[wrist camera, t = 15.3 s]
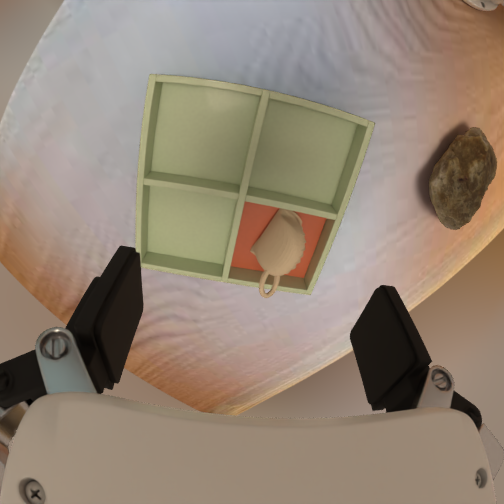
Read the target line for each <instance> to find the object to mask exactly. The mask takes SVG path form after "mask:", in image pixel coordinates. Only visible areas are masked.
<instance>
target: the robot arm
mask: <svg viewBox="0 0 504 504" xmlns="http://www.w3.org/2000/svg"><path fill="white" fill-rule="evenodd" d="M463 1H464V2H466V3H467V4H469V5H470V6H472V7H474V8H476V9H478V10H481V11H490V10H494V9H496V8H497V6H498V5H499V4H502V5H503V6H504V0H463ZM142 312H143V294H142V279H141V261H140V253H138V252H136V249H135V248H133V247H127V246H120V247H119V248H118V250H117V251H116V253H115V254H114V256H113V257H112V259H111V261H110V262H109V264H108V265H107V267H106V269H105V270H104V272H103V274H102V275H101V277H95V278H94V279H93V281H92V282H91V284H90V286H89V287H88V289H87V291H86V292H85V294H84V296H83V297H82V299H81V301H80V303H79V304H78V306H77V308H76V310H75V311H74V313H73V315H72V317H71V319H70V321H69V322H68V324H67V326H66V328H65V329H64V328H61V327H54V328H50V329H47V330H46V331H44V332H43V333H42V334H40V336H39V337H38V339H37V341H36V345H35V350H33V351H30V352H28V353H26V354H23V355H21V356H18V357H16V358H14V359H11V360H8V361H6V362H4V363H1V364H0V504H497V502H496V495H495V490H494V485H493V480H494V478H495V477H496V475H497V473H498V471H499V468H500V467H501V464H502V463H503V460H504V449H503V447H502V446H501V444H500V443H499V442H498V441H497V439H496V438H495V437H494V436H493V434H492V433H491V432H490V430H489V429H488V428H487V427H486V426H485V424H482V418H481V414H480V411H479V410H478V408H477V407H476V406H475V405H473V404H472V403H470V402H469V401H468V400H466V399H465V398H464V397H462V396H461V395H459V394H458V393H457V392H455V391H454V380H453V377H452V375H451V374H450V373H449V371H448V370H446V369H445V368H444V367H442V366H438V365H436V366H432V367H431V368H429V366H428V365H429V364H430V363H431V362H432V360H431V358H430V356H429V354H428V351H427V349H426V347H425V345H424V343H423V341H422V339H421V337H420V335H419V333H418V331H417V329H416V326H415V325H414V323H413V321H412V319H411V317H410V315H409V313H408V311H407V309H406V307H405V305H404V303H403V301H402V300H401V298H400V296H399V294H398V292H397V290H396V289H395V287H393V286H386V285H381V286H380V287H379V288H377V289H375V291H374V293H373V295H372V296H371V298H370V300H369V302H368V303H367V305H366V307H365V309H364V310H363V312H362V314H361V315H360V317H359V319H358V320H357V322H356V324H355V325H354V327H353V329H352V330H351V333H350V340H351V343H352V347H353V350H354V353H355V357H356V360H357V364H358V367H359V370H360V374H361V378H362V381H363V385H364V389H365V392H366V396H367V400H368V403H369V404H371V406H372V410H373V411H375V410H383V409H384V408H386V413H380V414H371V415H361V416H348V417H332V418H262V417H244V416H232V415H221V414H212V413H204V412H196V411H189V410H182V409H177V408H170V407H165V406H159V405H153V404H148V403H143V402H139V401H134V400H129V399H124V398H119V397H114V396H109V395H103V394H101V393H103V390H104V388H107V389H111V390H112V389H113V386H114V383H119V381H120V378H121V375H122V371H123V369H124V365H125V362H126V359H127V356H128V353H129V350H130V347H131V344H132V341H133V338H134V335H135V332H136V329H137V326H138V324H139V321H140V318H141V315H142ZM481 424H482V425H481ZM16 430H17V431H16ZM13 436H14V439H13V442H12V445H11V449H10V452H9V449H8V446H9V442H10V440H11V439H12V437H13Z"/></svg>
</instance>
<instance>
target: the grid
mask: <svg viewBox="0 0 504 504" xmlns="http://www.w3.org/2000/svg"><path fill="white" fill-rule="evenodd" d="M374 125H375V123H374V122H371V121H369V120H366V119H364V118H361V117H358V116H355V115H353V114H350V113H347V112H344V111H341V110H338V109H335V108H332V107H329V106H326V105H322V104H319V103H316V102H312V101H309V100H305V99H302V98H298V97H294V96H290V95H286V94H282V93H278V92H274V91H270V90H265V89H260V88H256V87H251V86H246V85H240V84H235V83H229V82H222V81H216V80H209V79H201V78H193V77H183V76H172V75H157V74H150V75H149V81H148V87H147V93H146V99H145V106H144V114H143V121H142V130H141V139H140V149H139V161H138V175H137V193H136V252H138V253H140V261H141V267H142V268H146V269H152V270H157V271H163V272H168V273H174V274H179V275H185V276H190V277H196V278H202V279H208V280H214V281H220V282H227V283H232V284H238V285H245V286H251V287H257V288H259V283H260V278H261V276H262V273H263V272H264V269H263V268H262V267H261V265H260V264H259V262H258V260H257V258H256V256H255V255H254V254H253V253H251V252H250V250H251V248H252V246H253V245H254V244H255V243H256V242H257V240H258V239H259V238H260V237H261V235H262V234H263V232H264V231H265V230H266V228H267V227H268V225H269V224H270V222H271V221H272V219H273V218H274V216H275V215H276V213H277V212H278V210H279V209H280V208H282V209H287V210H291V211H294V212H295V213H296V214H297V215H298V216H299V218H300V219H301V220H302V227H303V232H304V233H305V236H304V237H305V240H306V243H305V251H303V257H302V258H300V259H301V261H300V263H298V264H296V268H295V269H293V270H291V271H290V272H289V273H288V274H284V275H283V276H280V280H279V284H278V287H277V289H276V290H278V291H284V292H291V293H299V294H307V295H311V293H312V291H313V288H314V286H315V284H316V281H317V279H318V277H319V274H320V272H321V270H322V267H323V265H324V263H325V260H326V258H327V255H328V253H329V251H330V248H331V246H332V243H333V241H334V238H335V236H336V233H337V231H338V228H339V226H340V223H341V220H342V218H343V215H344V213H345V210H346V207H347V205H348V202H349V199H350V196H351V194H352V191H353V188H354V185H355V183H356V180H357V177H358V174H359V171H360V168H361V165H362V162H363V159H364V156H365V153H366V150H367V147H368V144H369V141H370V138H371V135H372V132H373V128H374ZM273 283H274V276H273V275H270V274H269V275H268V276H267V278H266V281H265V284H264V289H271V288H272V286H273Z"/></svg>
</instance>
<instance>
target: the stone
mask: <svg viewBox="0 0 504 504" xmlns="http://www.w3.org/2000/svg"><path fill="white" fill-rule="evenodd" d="M496 169H497V158H496V156H495V153H494V151H493V148H492V146H491V145H490V144H489V142H488V141H487V138H486V136H485V135H484V133H483V132H482V130H481V129H480V128H476V127H472V128H470V130H468V131H466V133H465V134H464V135H457V137H456V138H455V140H454V141H453V142H452V143H451V144H450V145H449V148H448V149H447V151H446V152H445V153H444V154H443V155H442V157H441V159H440V160H439V161H438V162H437V163H436V164H435V166H434V169H433V173H432V174H431V177H430V180H429V189H430V190H429V195H430V199H431V202H432V204H433V205H434V208H435V211H436V212H437V216H438V218H439V220H440V222H441V223H442V224H443V225H444V226H445V227H447V228H450V229H453V230H457V229H460V227H462V226H463V225H465V224H466V223H469V222H470V220H471V219H472V216H473V215H474V214H475V212H476V211H477V210H478V209H479V208H480V206H481V200H482V199H483V196H484V194H485V191H486V190H487V189H488V185H489V184H491V182H492V180H493V179H494V177H495V174H496Z"/></svg>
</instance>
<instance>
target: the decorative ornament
mask: <svg viewBox="0 0 504 504" xmlns="http://www.w3.org/2000/svg"><path fill="white" fill-rule="evenodd" d="M304 236H305V233H304V232H303V227H302V220H301V219H300V218H299V216H298V215H297V214H296V213H295V212H294V211H291V210H287V209H282V208H280V209H279V210H278V212H277V213H276V215H275V216H274V218H273V219H272V221H271V222H270V224H269V225H268V227H267V228H266V230H265V231H264V232H263V234H262V235H261V237H260V238H259V239H258V240H257V242H256V243H255V244H254V245H253V246H252V248H251V250H250V252H251V253H253V254H254V255H255V256H256V258H257V260H258V262H259V264H260V265H261V267H262V268H263V269H264V272H263V273H262V276H261V278H260V283H259V291H260V294H261V296H262V297H264V298H268V297H270V296H272V295H273V294H274V292H275V291H276V289H277V287H278V284H279V280H280V276H283V275H284V274H288V273H289V272H290V271H291V270H293V269H295V268H296V264H298V263H300V261H301V259H300V258H302V257H303V251H305V243H306V240H305V237H304ZM269 274H270V275H273V276H274V283H273V286H272V288H271V290H270V291H269V292H268V293H265V292H264V284H265V281H266V278H267V276H268V275H269Z"/></svg>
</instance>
